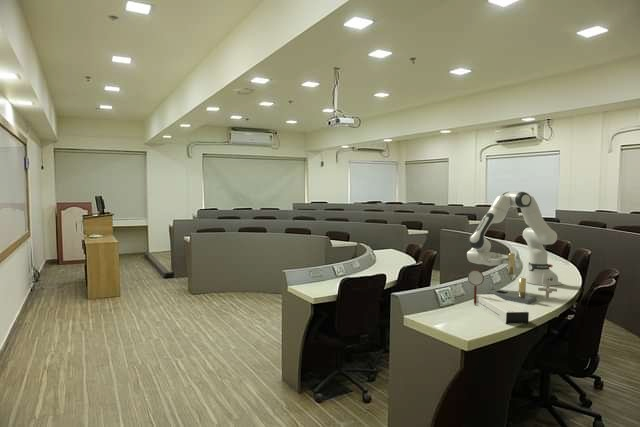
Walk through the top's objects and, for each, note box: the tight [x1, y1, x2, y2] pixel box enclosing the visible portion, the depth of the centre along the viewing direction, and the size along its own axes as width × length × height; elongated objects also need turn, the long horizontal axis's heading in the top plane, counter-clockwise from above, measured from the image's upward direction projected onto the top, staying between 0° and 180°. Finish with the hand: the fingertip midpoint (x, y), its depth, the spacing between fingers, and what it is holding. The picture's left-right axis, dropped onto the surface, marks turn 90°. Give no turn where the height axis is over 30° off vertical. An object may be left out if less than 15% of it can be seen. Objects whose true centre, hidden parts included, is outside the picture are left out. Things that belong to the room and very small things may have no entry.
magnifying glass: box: [467, 269, 485, 306], centre depth 230 cm, size 9×2×20 cm, turn 57°
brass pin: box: [507, 252, 516, 275], centre depth 258 cm, size 4×4×13 cm
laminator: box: [475, 293, 530, 325], centre depth 216 cm, size 34×12×6 cm, turn 4°
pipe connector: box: [537, 281, 558, 299], centre depth 248 cm, size 10×10×10 cm
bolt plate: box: [487, 277, 538, 305], centre depth 246 cm, size 24×12×13 cm, turn 42°
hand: (512, 261), depth 257 cm, fingers closed on brass pin, 4 cm apart
